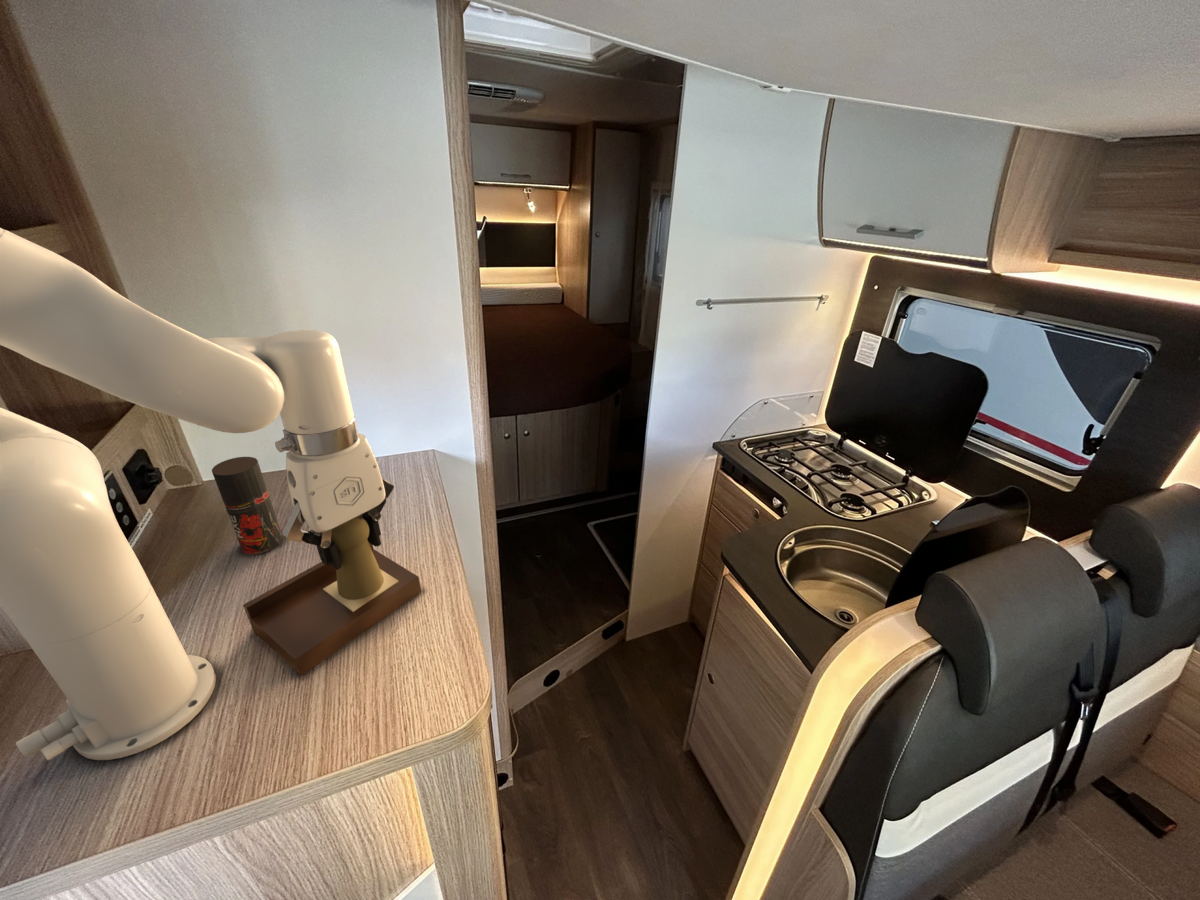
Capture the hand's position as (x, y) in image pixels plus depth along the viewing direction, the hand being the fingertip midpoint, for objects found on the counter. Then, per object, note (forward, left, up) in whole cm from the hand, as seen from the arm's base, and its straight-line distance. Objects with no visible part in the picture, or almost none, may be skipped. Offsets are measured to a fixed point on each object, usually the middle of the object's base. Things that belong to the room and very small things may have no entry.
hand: (353, 552), depth 69 cm
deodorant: (-2, +26, -9) cm, 28 cm away
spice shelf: (-3, +1, -9) cm, 10 cm away
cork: (0, 0, -6) cm, 6 cm away
